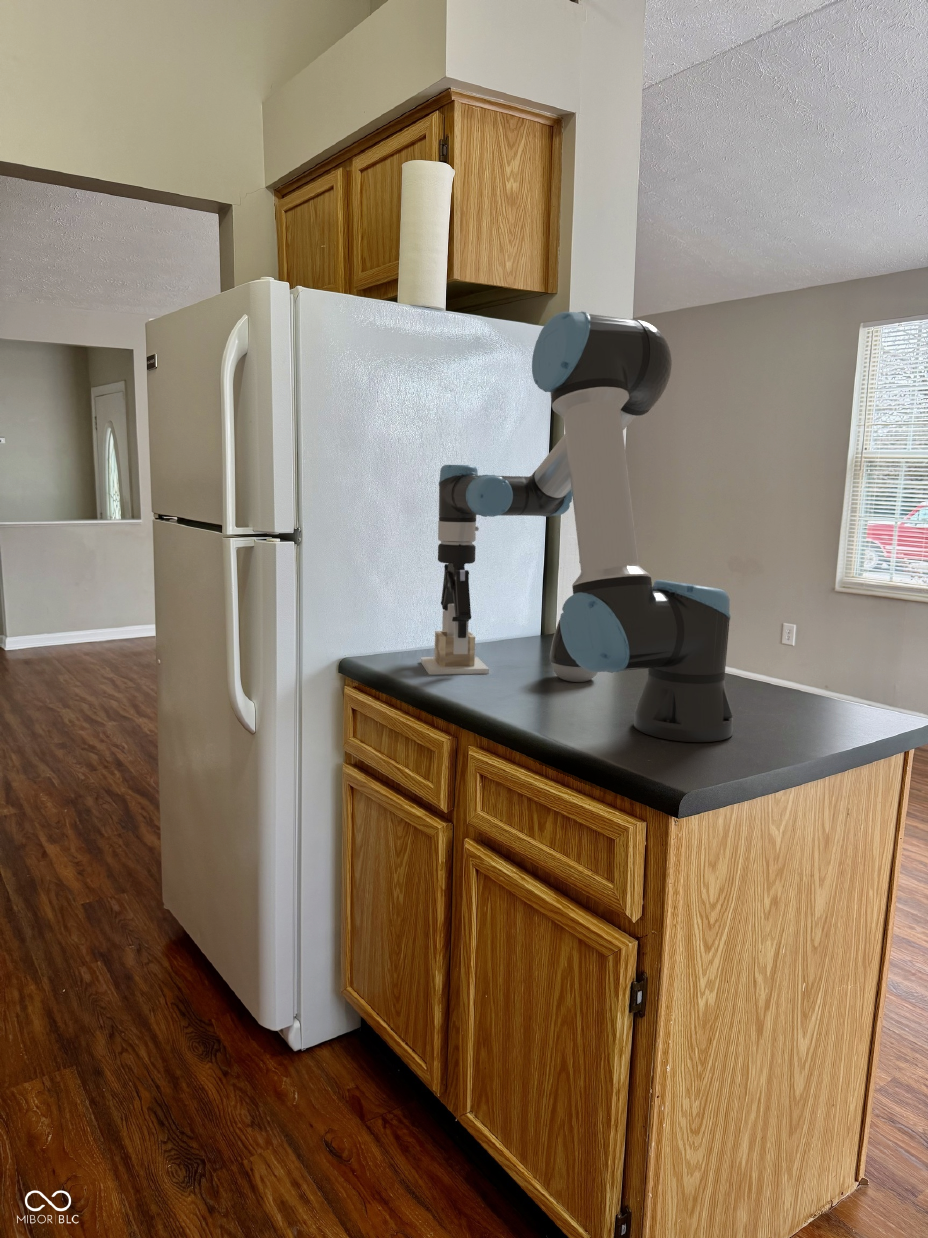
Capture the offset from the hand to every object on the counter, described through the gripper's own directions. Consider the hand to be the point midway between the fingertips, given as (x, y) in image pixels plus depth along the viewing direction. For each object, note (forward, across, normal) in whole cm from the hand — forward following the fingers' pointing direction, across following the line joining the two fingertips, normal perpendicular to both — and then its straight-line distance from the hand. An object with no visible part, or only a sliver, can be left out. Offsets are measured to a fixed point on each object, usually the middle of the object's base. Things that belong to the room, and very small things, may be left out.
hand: (454, 647), depth 179 cm
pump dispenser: (+4, -12, -22) cm, 25 cm away
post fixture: (+4, 0, 0) cm, 4 cm away
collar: (+3, 0, 0) cm, 3 cm away
